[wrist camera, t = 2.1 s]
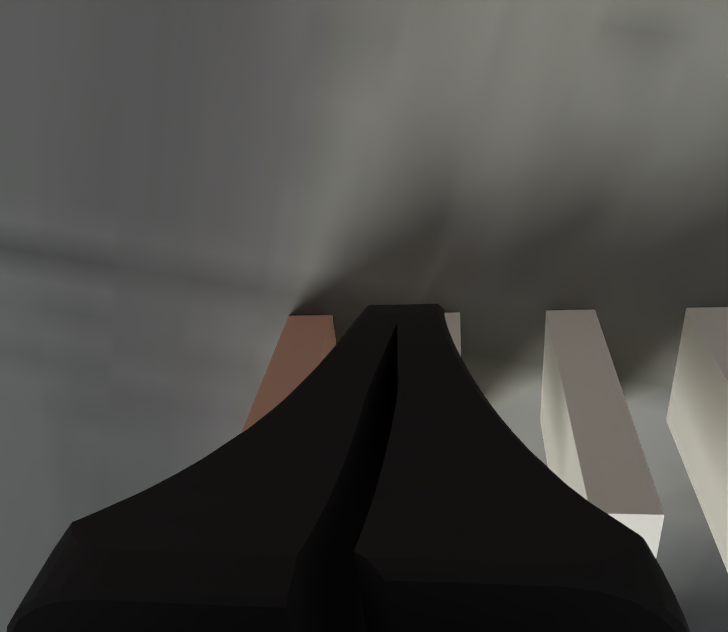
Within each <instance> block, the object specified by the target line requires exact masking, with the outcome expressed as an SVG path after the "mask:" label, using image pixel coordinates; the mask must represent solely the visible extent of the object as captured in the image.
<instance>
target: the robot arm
mask: <svg viewBox="0 0 728 632" xmlns="http://www.w3.org/2000/svg"><path fill="white" fill-rule="evenodd" d="M7 632H690V631H689V628H688V625H687V622H686V620H685V617H684V615H683V612H682V610H681V608H680V606H679V604H678V601H677V599H676V597H675V595H674V593H673V591H672V589H671V587H670V585H669V583H668V581H667V579H666V577H665V575H664V573H663V571H662V569H661V567H660V565H659V564H658V562H657V560H656V558H655V557H654V555H653V553H652V551H651V549H650V548H649V546H648V544H647V543H646V541H645V539H644V538H643V537H642V536H640V535H639V534H637V533H636V532H634V531H633V530H631V529H630V528H628V527H627V526H625V525H624V524H622V523H621V522H619V521H618V520H616V519H615V518H613V517H612V516H610V515H609V514H607V513H605V512H604V511H602V510H601V509H599V508H598V507H596V506H595V505H593V504H592V503H590V502H589V501H587V500H586V499H585V498H583V497H582V496H581V495H579V494H578V493H577V492H576V491H574V490H573V489H572V488H571V487H569V486H568V485H567V484H566V483H564V482H563V481H562V480H561V479H560V478H559V477H558V476H557V475H556V474H555V473H554V472H552V471H551V470H550V469H549V468H548V467H547V466H546V465H545V464H544V463H543V462H542V461H541V460H539V459H538V458H537V457H536V456H535V455H534V454H533V453H532V452H531V451H530V450H529V449H528V448H527V447H526V446H525V445H524V444H523V443H522V442H521V441H520V439H519V438H518V437H517V436H516V435H515V434H514V433H513V432H512V431H511V429H510V428H509V427H508V426H507V425H506V423H505V422H504V421H503V420H502V419H501V417H500V416H499V415H498V414H497V412H496V411H495V410H494V409H493V407H492V406H491V404H490V403H489V402H488V400H487V399H486V397H485V396H484V395H483V393H482V392H481V390H480V389H479V387H478V386H477V384H476V383H475V381H474V379H473V378H472V376H471V374H470V373H469V371H468V369H467V367H466V365H465V364H464V362H463V360H462V358H461V356H460V354H459V352H458V351H457V348H456V346H455V344H454V342H453V340H452V337H451V335H450V332H449V329H448V327H447V323H446V320H445V310H444V309H443V308H442V307H441V306H440V305H439V304H412V305H373V306H368V307H367V308H366V309H365V310H364V311H363V312H362V313H361V314H360V316H359V317H358V318H357V319H356V321H355V322H354V323H353V324H352V326H351V327H350V328H349V330H348V331H347V332H346V333H345V335H344V336H343V337H342V338H341V339H340V341H339V342H338V343H337V344H336V345H335V347H334V348H333V349H332V350H331V351H330V352H329V353H328V354H327V356H326V357H325V358H324V359H323V360H322V361H321V362H320V364H319V365H318V366H317V367H316V368H315V369H314V370H313V371H312V372H311V373H310V374H309V375H308V376H307V377H306V378H305V379H304V380H303V381H302V382H301V383H300V384H299V385H298V386H297V387H296V388H295V389H294V390H293V391H292V392H291V393H290V394H289V395H288V396H287V397H286V398H285V399H284V400H283V401H282V402H280V403H279V404H278V405H277V406H276V407H275V408H274V409H272V410H271V411H270V412H269V413H267V414H266V415H265V416H263V417H262V418H261V419H260V420H258V421H257V422H256V423H255V424H253V425H252V426H251V427H249V428H248V429H247V430H245V431H244V432H242V433H241V434H239V435H238V436H236V437H235V438H233V439H232V440H230V441H229V442H227V443H226V444H224V445H223V446H221V447H220V448H218V449H217V450H215V451H214V452H212V453H211V454H209V455H208V456H206V457H205V458H203V459H201V460H200V461H198V462H196V463H195V464H193V465H191V466H189V467H188V468H186V469H184V470H182V471H181V472H179V473H177V474H175V475H173V476H171V477H170V478H168V479H166V480H164V481H162V482H160V483H158V484H156V485H154V486H153V487H151V488H148V489H146V490H144V491H142V492H140V493H138V494H136V495H134V496H132V497H129V498H127V499H125V500H123V501H120V502H118V503H116V504H114V505H111V506H109V507H107V508H105V509H102V510H100V511H98V512H96V513H93V514H91V515H89V516H86V517H84V518H81V519H79V520H76V521H74V522H72V523H71V525H70V526H69V528H68V529H67V531H66V532H65V533H64V535H63V536H62V538H61V539H60V541H59V542H58V544H57V545H56V547H55V548H54V550H53V551H52V553H51V554H50V556H49V558H48V559H47V561H46V562H45V564H44V566H43V567H42V569H41V571H40V572H39V574H38V576H37V577H36V579H35V581H34V582H33V584H32V586H31V587H30V589H29V590H28V592H27V594H26V595H25V597H24V599H23V600H22V602H21V604H20V605H19V607H18V609H17V610H16V612H15V614H14V616H13V617H12V619H11V621H10V623H9V624H8V626H7Z"/></svg>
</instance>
